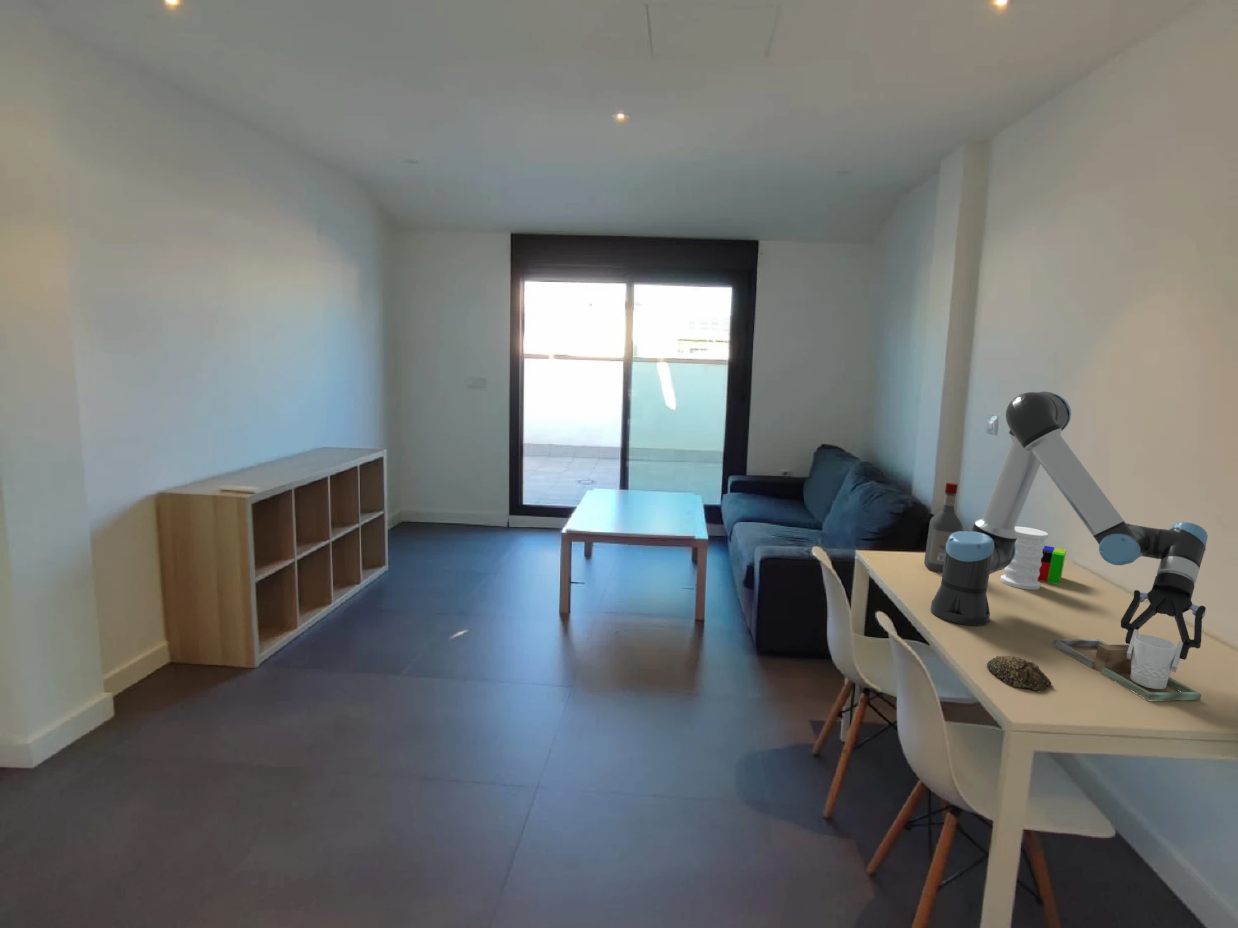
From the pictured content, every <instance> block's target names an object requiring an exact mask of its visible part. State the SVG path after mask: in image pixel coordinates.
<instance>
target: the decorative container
mask: <svg viewBox="0 0 1238 928" xmlns="http://www.w3.org/2000/svg"><path fill="white" fill-rule="evenodd" d="M1015 531H1016V533H1017V534H1018V537H1017V540H1016V542H1015V548H1016V552H1015V556H1014V558H1013V560H1012V562H1011V563H1010V564H1009V565H1008V566H1007V567H1005V568H1004V571H1005V572H1004V574H1002V575H1000V578H999V579H1000V582H1001V583H1003V584H1004V585H1006V586H1010V587H1012V586H1013V587H1012V588H1017V589H1020V588H1021V589H1022V590H1028V591H1031V590H1032V591H1033V590H1034V591H1037V590H1039V589H1040V588H1041V585H1042V584H1041V582H1040V581H1039V580H1038V577H1039V575H1040V572H1039V569H1040V567H1041V558H1042V557H1043V553H1042V551H1043V549H1044V547H1045V546H1046V545H1045V544H1046V543H1045V540H1046V539H1048V536H1049V533H1048V532H1046V531H1044V530H1042V529H1039V528H1038V529H1037V528H1033V527H1027V526H1026V527H1025V526H1017V525H1016V526H1015Z"/></svg>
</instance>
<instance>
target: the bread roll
mask: <svg viewBox="0 0 1238 928" xmlns="http://www.w3.org/2000/svg"><path fill="white" fill-rule="evenodd" d="M986 668H987V669H988V671H989V673H991V674H992V675H993V676H994V677H995V678H996V679H999V680H1000V681H1002V682H1003V683H1004V684H1006V685H1008V686H1010V687H1013V688H1021V689H1029V690H1030V689H1031V690H1033V691H1034V690H1035V691H1034V692H1037V691H1040V692H1039V693H1042V692H1041V691H1044V692H1045V690H1047V688H1046V687H1049V688H1051V687H1052V681H1051V680H1050V678H1049V677H1048V676H1047V675H1046V674H1045V673H1044V672H1043V671H1042V670H1041V668H1040V666H1039V665H1037V664H1036V663H1035V662H1034V661H1029V660H1026V659H1025V658H1021V657H1016V656H1014V655H1003V656H1002V655H1000V656H999V655H997V656H996V657H993V658H992V659H989V661H987V664H986Z"/></svg>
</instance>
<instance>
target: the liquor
mask: <svg viewBox="0 0 1238 928" xmlns="http://www.w3.org/2000/svg"><path fill="white" fill-rule="evenodd" d="M958 486H959V485H958V483H955V482H946V484H945V488H944V497H943V498H944V499H943V505H942V507H941V510H940V511H939V512H938V513H936V514H935V515H933V516H932V517H931V518H930V520H929V525H928V534H927V540H926V546H925V547H926V548H925V554H924V560H923V561H924V562H923V563H924V565H925V566H924V567H926V569H927V570H928V571H931V572H935V573H943V566H944V559H945V552H946V544H947V541H948V538H949V536H950V535H951V534H952V533H955V532H959V531H963V525H962V524H963V523H962V522H961V521H960V519H959V518H958V516H957V514H956V513H955V503H956V495H957V493H958Z"/></svg>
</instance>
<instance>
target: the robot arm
mask: <svg viewBox="0 0 1238 928" xmlns="http://www.w3.org/2000/svg"><path fill="white" fill-rule="evenodd" d="M1007 405H1008V406H1007V408H1006V411H1005V421H1006V424H1007V426H1008V428H1009V431H1008V436H1009V437H1010V439H1011V443H1010V446H1009V448H1008V451H1007V454H1006V456H1005V459H1004V461H1003V464H1002V467H1001V469H1000V473H998V478H997V480H996V481H995V482H996V483H995V484H994V488H993V490H992V492H991V495H990V498H989V501H988V504H987V506H986V509H985V510H984V513H983V516H982V518H979V519H977V520H975V521H974V524H973V526H972V529H971V530H965V531H963V530H962V531H959V532H955V533H952V534H951V535H950V536H949V538H948V541H947V544H946V552H945V559H944V566H943V573H942V575H941V581H940V586H939V588H938V590H937V591H936V594H935V596H934V597H933V599H932V600H931V602H930V603H931V604H930V612H931V613H932V614H933V615H934V616H936V617H937V618H940V619H942V620H944V621H947V622H951V623H954V624H959V625H965V626H975V627H976V626H979V627H980V626H985V625H988V624H989V622H990V619H991V611H990V606H989V602H988V597H987V590H988V587H989V586H988V585H989V580H990V579H989V578H990V575H991V574H995V572H999V571H1002V570H1005V567H1007V566H1008V565H1009V564H1010V563H1011V562H1012V560H1013V558H1014V556H1015V552H1016V548H1015V542H1016V540H1017V537H1018V534H1017V533H1016V531H1015V526H1017V523H1018V521H1019V518H1020V516H1021V513H1022V511H1023V509H1024V507H1025V504H1026V501H1027V498H1028V496H1029V494H1030V491H1031V489H1032V486H1033V484H1034V481H1035V478H1036V476H1037V474H1038V471H1039V469H1040V466H1042V468H1043V469H1044V471H1045V472H1046V474H1047V475H1048V477H1050V479H1051V480H1052V482H1053V483H1054V484H1055V486H1056V487H1057V488H1058V490H1059V491H1060V492H1061V494H1062V495H1063V497H1064V498H1065V500H1067V503H1068V504H1069V505H1070V507H1071V508H1072V510H1074V512H1075V513H1076V515H1077V517H1078V518H1079V519H1080V520H1081V522H1082V523H1083V524H1084V525H1085V527H1086V528H1087V530H1088V531H1089V533H1090V534H1091V535H1092V537H1093V538H1094V539H1095V541H1096V542H1097V544H1098V552H1099V555H1100V556H1101V558H1102V559H1103V560H1104V561H1106V562H1107V563H1108V564H1111V565H1114V566H1124V565H1128V564H1129V565H1130V564H1132V563H1134V562H1135V561H1136V560H1138V559H1139V558H1140V557H1143V558H1144V557H1145V558H1152V559H1156V560H1159V564H1158V567H1157V571H1156V576H1154V581H1153V584H1152V588H1151V589H1150V590H1149V591H1148V592H1141V591H1140V590H1138V589H1135V590H1134V591H1133V599H1132V600H1131V602H1130V604H1129V606H1128V608H1127V609H1126V611H1125V612H1124V614H1123V616H1122V618H1121V620H1120V627H1121V629H1125V630H1126V631H1127V632H1126V636H1125V638H1124V639H1125V644H1126V645H1129V648H1128V651H1127V658H1128V659H1131V657H1132V653H1133V646H1134V637H1135V636H1136V635H1139V630H1140V628H1142V627H1143V626H1144V625H1145V624H1146V623H1147V622H1148V621H1149V620H1150V619H1151V618H1153V617H1154V616H1156V615H1157V614H1161V615H1167V616H1169V617H1171V618H1174V619H1175V620H1174V621H1175V623H1176V625H1177V628H1178V632H1179V636H1180V640H1178V643H1177V651H1176V654H1175V657H1174V661H1173V664H1172V670H1171V672H1172V673H1177V669H1178V666H1179V662H1180V660H1186V659H1187V658H1188V654H1189V651H1190V649H1191V648H1195V649H1200V648H1201V645H1202V633H1203V631H1202V630H1203V627H1202V626H1203V618H1204V617H1205V616H1206V609H1207V607H1206V606H1204V605H1200V606H1198V605H1195V604H1194V603H1193V602H1192V598H1193V594H1194V591H1195V587H1196V586H1195V585H1196V583H1197V581H1198V576H1199V573H1200V568H1201V565H1202V562H1203V561H1202V560H1203V558H1204V555H1205V552H1206V550H1207V549H1206V547H1207V543H1208V542H1207V541H1208V533H1207V531H1206V530H1205V528H1203V527H1202V526H1200V525H1199V524H1196V523H1193V522H1187V521H1183V522H1175V523H1173V524H1172V525H1171V527H1169V529H1166V528H1163V529H1162V528H1156V527H1150V526H1142V525H1136V524H1130V523H1126V522H1125V520H1124V518H1123V517H1122V515H1120V513H1119V512H1118V510H1117V509H1116V508H1115V506H1114V505H1113V504H1112V502H1111V501H1110V500H1109V498H1108V497H1107V496H1106V494H1105V492H1104V491H1103V490H1102V489H1101V487H1100V486H1099V484H1097V482H1096V481H1095V480H1094V478H1093V477H1092V475H1091V474H1090V473H1089V472H1088V470H1087V469H1086V468H1085V466H1084V465H1083V463H1082V462H1081V461H1080V460H1079V458H1078V457H1077V456H1076V454H1075V453H1074V451H1073V450H1072V449H1071V447H1070V446H1069V445H1068V443H1067V442H1066V441H1065V439H1064V438H1063V437H1062V431H1064V429H1066V428H1067V426H1068V425H1069V424H1070V421H1071V418H1072V409H1071V406H1070V405H1069V403H1068V401H1067V400H1066V399H1065V398H1064V397H1062V396H1061V395H1059V394H1057V393H1054V392H1051V391H1030V392H1029V391H1028V392H1024V393H1021V394H1018V395H1017V396H1015V397H1014V398H1013V399H1012V400H1011V401H1010V402H1009V404H1007ZM1145 600H1148V602H1149V605H1148V607H1147V608H1146V609H1145V610H1144V611H1142V613H1140V615H1138V616H1137V617H1136V618H1135V619H1134V620H1133V621H1132V619H1133V617H1134V616H1135V614H1136V612H1137V611H1138V609H1139V607H1140V605H1141V603H1143V602H1145ZM1190 610H1191V611H1192V615H1193V616H1194V624H1193V625H1194V626H1193V627H1194V629H1193V632H1194V633H1193V639H1191V637H1190V635H1189V632H1188V628H1187V624H1186V621H1185V618H1184V613H1185V612H1188V611H1190ZM1131 621H1132V622H1131Z"/></svg>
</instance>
